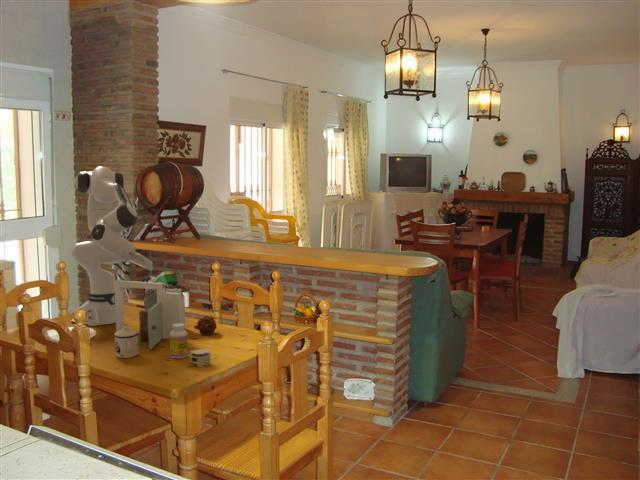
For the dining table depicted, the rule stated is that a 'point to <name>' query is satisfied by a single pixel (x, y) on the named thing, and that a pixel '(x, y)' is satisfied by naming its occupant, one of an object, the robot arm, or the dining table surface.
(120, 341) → the teacup with lid
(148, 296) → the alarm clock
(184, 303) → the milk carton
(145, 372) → the dining table surface
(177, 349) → the supplement bottle
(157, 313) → the door
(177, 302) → the door frame
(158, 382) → the dining table surface
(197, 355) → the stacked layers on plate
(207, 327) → the pine cone
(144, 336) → the post
